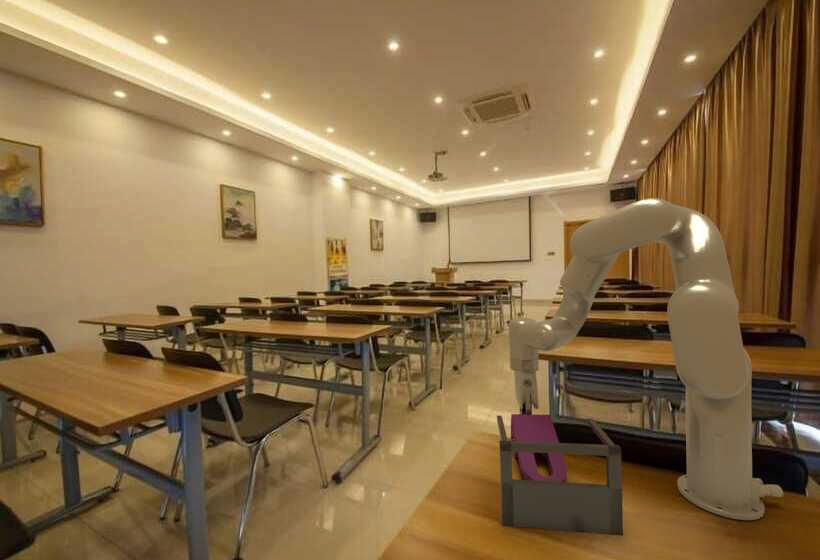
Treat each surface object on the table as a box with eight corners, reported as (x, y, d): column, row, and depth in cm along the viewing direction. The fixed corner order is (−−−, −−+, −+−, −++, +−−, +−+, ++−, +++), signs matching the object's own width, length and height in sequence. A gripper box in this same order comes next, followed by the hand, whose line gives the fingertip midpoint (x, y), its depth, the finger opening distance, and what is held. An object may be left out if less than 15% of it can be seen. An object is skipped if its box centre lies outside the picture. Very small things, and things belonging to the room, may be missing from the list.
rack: (596, 491, 71) (595, 418, 71) (623, 535, 59) (621, 448, 59) (496, 484, 74) (494, 415, 74) (502, 525, 62) (499, 443, 62)
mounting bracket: (567, 510, 74) (547, 437, 90) (572, 485, 70) (550, 414, 86) (522, 507, 75) (509, 436, 91) (524, 483, 72) (511, 414, 88)
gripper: (544, 371, 88) (546, 443, 88) (533, 356, 102) (534, 418, 103) (513, 371, 89) (515, 441, 89) (507, 356, 104) (508, 417, 104)
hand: (526, 429), depth 96 cm, fingers closed
